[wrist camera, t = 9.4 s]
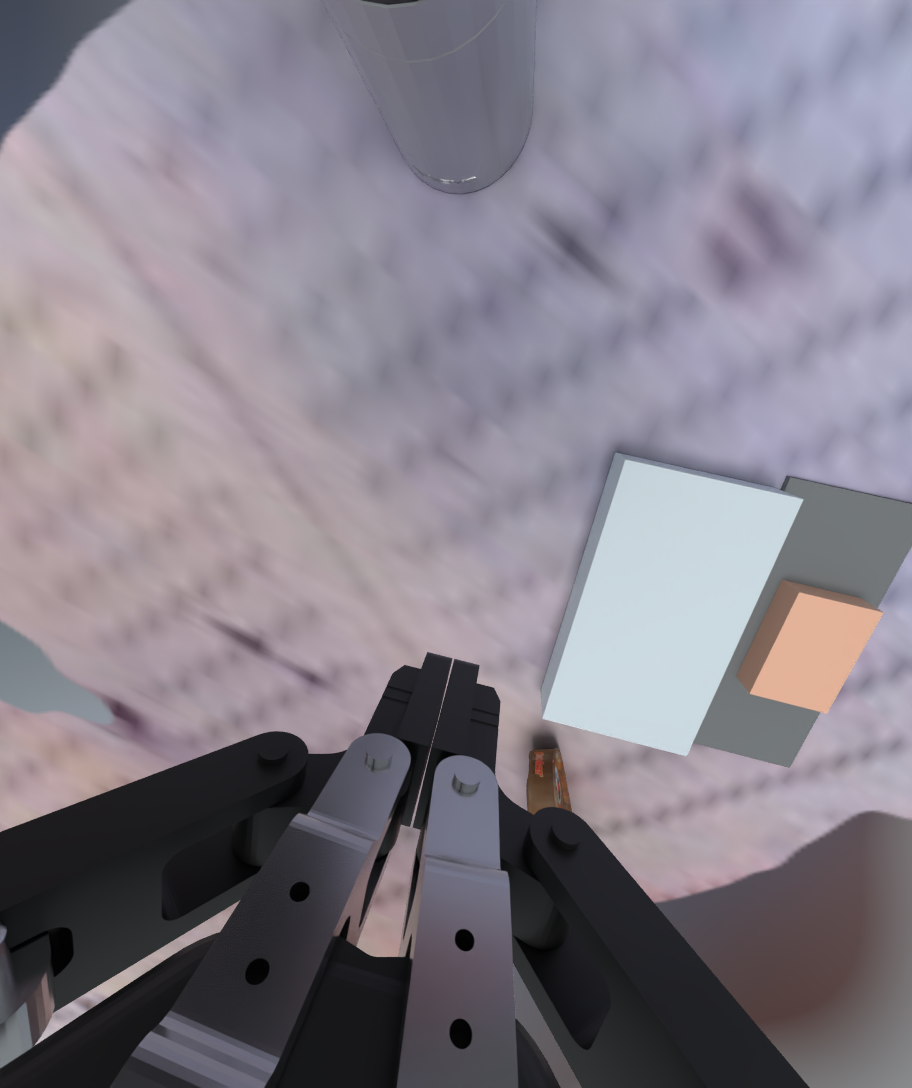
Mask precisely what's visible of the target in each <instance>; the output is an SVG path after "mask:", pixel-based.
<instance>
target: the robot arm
mask: <svg viewBox="0 0 912 1088" xmlns="http://www.w3.org/2000/svg"><path fill="white" fill-rule="evenodd" d="M322 2H323V4H324V6H325V8H326V10H327V11H328V13H329V15H330V17H331V19H332V21H333V23H334V25H335V27H336V29H337V30H338V32H339V34H340V36H341V38H342V40H343V42H344V44H345V46H346V48H347V50H348V52H349V54H350V55H351V57H352V59H353V61H354V63H355V65H356V67H357V69H358V71H359V73H360V75H361V77H362V79H363V80H364V82H365V84H366V86H367V88H368V90H369V92H370V94H371V96H372V98H373V100H374V102H375V104H376V105H377V107H378V109H379V111H380V113H381V115H382V117H383V119H384V121H385V123H386V125H387V127H388V129H389V131H390V133H391V135H392V136H393V138H394V140H395V142H396V144H397V146H398V148H399V150H400V152H401V154H402V155H403V157H404V159H405V160H406V162H407V163H408V165H409V167H410V168H411V170H412V171H413V172H414V173H415V174H416V175H417V176H418V177H419V178H420V179H421V180H422V181H424V182H425V183H427V184H428V185H430V186H432V187H433V188H435V189H438V190H441V191H444V192H447V193H458V194H463V193H469V192H474V191H478V190H480V189H482V188H484V187H487V186H489V185H491V184H492V183H493V182H495V181H496V180H497V179H499V178H500V177H501V176H503V174H504V173H505V172H506V171H507V170H508V169H509V168H510V167H511V166H512V164H513V163H514V162H515V160H516V158H517V157H518V155H519V153H520V152H521V150H522V148H523V146H524V143H525V141H526V138H527V135H528V133H529V129H530V124H531V119H532V114H533V91H534V69H535V37H536V3H537V0H322ZM451 662H452V658H449V657H445V656H441V655H437V654H433V653H429V652H427V655H426V657H425V660H424V663H423V665H422V668H421V669H418V668H415V667H411V666H407V665H404V666H403V667H401V668H400V669H398V670H397V671H395V672H394V673H393V674H392V676H391V678H390V680H389V682H388V684H387V687H386V689H385V691H384V693H383V695H382V698H381V700H380V702H379V704H378V706H377V708H376V710H375V712H374V715H373V717H372V719H371V721H370V723H369V725H368V727H367V730H366V732H365V734H364V736H361V737H359V738H357V739H356V740H355V741H353V742H352V743H351V745H350V746H349V748H348V749H347V750H345V751H342V752H339V753H333V754H308V749H307V746H306V744H305V743H304V742H303V741H302V740H301V739H300V738H299V737H297V736H295V735H293V734H290V733H287V732H278V731H275V732H267V733H263V734H260V735H257V736H254V737H251V738H249V739H246V740H243V741H241V742H238V743H236V744H233V745H230V746H228V747H225V748H222V749H220V750H217V751H214V752H212V753H209V754H206V755H204V756H201V757H198V758H196V759H193V760H190V761H188V762H185V763H182V764H180V765H177V766H174V767H172V768H169V769H166V770H164V771H161V772H158V773H156V774H153V775H151V776H148V777H145V778H143V779H140V780H137V781H135V782H132V783H129V784H127V785H124V786H121V787H119V788H116V789H113V790H111V791H108V792H105V793H103V794H100V795H97V796H95V797H92V798H89V799H87V800H84V801H81V802H79V803H76V804H73V805H71V806H68V807H66V808H63V809H60V810H58V811H55V812H52V813H50V814H47V815H44V816H42V817H39V818H36V819H34V820H31V821H28V822H26V823H23V824H20V825H18V826H15V827H12V828H10V829H7V830H4V831H2V832H0V1088H560V1086H559V1084H558V1082H557V1080H556V1078H555V1076H554V1074H553V1072H552V1070H551V1068H550V1066H549V1064H548V1062H547V1060H546V1059H545V1057H544V1055H543V1054H542V1052H541V1051H540V1049H539V1048H538V1046H537V1044H536V1043H535V1041H534V1040H533V1039H532V1037H531V1036H530V1035H529V1033H528V1032H527V1031H526V1030H525V1028H524V1027H523V1026H522V1025H521V1024H520V1023H519V1021H518V1020H517V1019H516V1018H515V999H514V977H513V963H514V965H515V967H516V969H517V971H518V972H519V974H520V976H521V978H522V980H523V982H524V983H525V985H526V987H527V989H528V990H529V992H530V994H531V996H532V998H533V1000H534V1001H535V1003H536V1005H537V1007H538V1009H539V1011H540V1012H541V1014H542V1016H543V1018H544V1020H545V1021H546V1023H547V1025H548V1027H549V1029H550V1031H551V1032H552V1034H553V1036H554V1038H555V1040H556V1041H557V1043H558V1045H559V1047H560V1049H561V1050H562V1052H563V1054H564V1056H565V1058H566V1059H567V1061H568V1063H569V1065H570V1067H571V1069H572V1070H573V1072H574V1074H575V1076H576V1078H577V1079H578V1081H579V1083H580V1085H581V1087H582V1088H809V1086H808V1085H807V1084H806V1083H805V1082H804V1081H803V1079H802V1078H801V1077H800V1076H799V1075H798V1073H797V1072H796V1071H795V1070H794V1069H793V1067H792V1066H791V1065H790V1064H789V1063H788V1061H787V1060H786V1059H785V1058H784V1057H783V1056H782V1054H781V1053H780V1052H779V1051H778V1050H777V1048H776V1047H775V1046H774V1045H773V1044H772V1043H771V1041H770V1040H769V1039H768V1038H767V1037H766V1035H765V1034H764V1033H763V1032H762V1031H761V1030H760V1028H759V1027H758V1026H757V1025H756V1024H755V1022H754V1021H753V1020H752V1019H751V1018H750V1016H749V1015H748V1014H747V1013H746V1012H745V1011H744V1009H743V1008H742V1007H741V1006H740V1005H739V1003H738V1002H737V1001H736V1000H735V999H734V998H733V996H732V995H731V994H730V993H729V992H728V990H727V989H726V988H725V987H724V986H723V984H722V983H721V982H720V981H719V980H718V978H717V977H716V976H715V975H714V974H713V973H712V972H711V970H710V969H709V968H708V967H707V965H706V964H705V963H704V962H703V961H702V960H701V958H700V957H699V956H698V955H697V954H696V952H695V951H694V950H693V949H692V948H691V946H690V945H689V944H688V943H687V942H686V941H685V939H684V938H683V937H682V936H681V935H680V933H679V932H678V931H677V930H676V929H675V928H674V926H673V925H672V924H671V923H670V922H669V920H668V919H667V918H666V917H665V916H664V914H663V913H662V912H661V911H660V910H659V908H658V907H657V906H656V905H655V904H654V903H653V901H652V900H651V899H650V898H649V897H648V895H647V894H646V893H645V892H644V891H643V889H642V888H641V887H640V886H639V885H638V884H637V882H636V881H635V880H634V879H633V878H632V876H631V875H630V874H629V873H628V872H627V870H626V869H625V868H624V867H623V866H622V865H621V863H620V862H619V861H618V860H617V859H616V857H615V856H614V855H613V854H612V853H611V852H610V850H609V849H608V848H607V847H606V846H605V844H604V843H603V842H602V841H601V840H600V838H599V837H598V836H597V835H596V834H595V833H594V831H593V830H592V829H591V828H590V827H589V825H588V824H587V823H586V822H585V821H584V820H582V819H581V818H580V817H579V816H577V815H576V814H574V813H572V812H570V811H568V810H565V809H562V808H558V807H546V808H543V809H540V810H538V811H537V812H536V813H535V814H534V815H533V814H532V813H530V812H528V811H526V810H525V809H523V808H521V807H520V806H518V805H516V804H515V803H514V802H512V801H511V800H510V799H509V798H508V797H507V796H506V795H505V794H504V793H503V792H502V790H501V789H500V787H499V785H498V782H497V779H496V776H495V764H496V751H497V738H498V726H499V713H500V700H499V697H498V695H497V693H496V691H495V689H494V688H492V687H489V686H485V685H481V684H477V677H478V671H479V665H476V664H473V663H469V662H465V661H461V660H457V659H454V663H453V667H452V670H451V674H450V678H449V682H448V686H447V690H446V693H445V697H444V692H445V688H446V684H447V679H448V675H449V671H450V667H451ZM443 697H444V701H443ZM442 701H443V705H442ZM441 705H442V709H441ZM440 709H441V713H440ZM439 713H440V716H439ZM438 718H439V720H438ZM437 722H438V724H437ZM436 725H437V728H436ZM435 729H436V732H435ZM434 733H435V736H434ZM433 737H434V739H433ZM432 741H433V743H432ZM431 744H432V747H431ZM430 748H431V751H430ZM429 752H430V756H429ZM428 756H429V760H428ZM427 760H428V764H427ZM426 764H427V768H426V773H425V777H424V781H423V786H422V790H421V794H420V798H419V803H418V807H417V811H416V816H415V820H414V824H413V828H417V829H420V830H421V831H420V836H419V840H418V844H417V849H416V853H415V857H414V861H413V865H412V872H411V878H410V885H409V891H408V897H407V904H406V910H405V917H404V923H403V930H402V936H401V943H400V949H399V955H398V957H373V956H370V955H368V954H366V953H365V952H363V951H362V950H360V949H359V948H357V947H356V946H357V943H358V940H359V938H360V935H361V932H362V930H363V927H364V924H365V922H366V919H367V916H368V914H369V911H370V908H371V906H372V903H373V900H374V898H375V895H376V892H377V890H378V887H379V884H380V882H381V879H382V876H383V874H384V871H385V868H386V866H387V863H388V861H389V858H390V854H391V849H392V848H393V846H394V845H395V843H396V840H397V837H398V833H399V830H400V826H401V824H402V825H405V826H409V827H410V824H411V821H412V817H413V813H414V809H415V805H416V802H417V798H418V794H419V790H420V786H421V783H422V779H423V775H424V771H425V767H426ZM239 900H240V902H239V904H238V905H237V907H236V908H235V910H234V911H233V913H232V914H231V916H230V918H229V919H228V921H227V922H226V924H225V925H224V927H223V929H222V930H221V932H220V933H216V934H213V935H211V936H208V937H206V938H203V939H201V940H199V941H197V942H195V943H193V944H191V945H189V946H187V947H185V948H183V949H182V950H180V951H178V952H177V953H175V954H174V955H172V956H171V957H169V958H167V959H166V960H164V961H163V962H161V963H160V964H158V965H157V966H155V967H154V968H152V969H151V970H149V971H148V972H146V973H145V974H143V975H142V976H140V977H139V978H137V979H136V980H134V981H133V982H131V983H129V984H128V985H126V986H125V987H123V988H122V989H120V990H119V991H117V992H116V993H114V994H113V995H111V996H110V997H108V998H107V999H105V1000H104V1001H102V1002H101V1003H99V1004H98V1005H96V1006H94V1007H93V1008H91V1009H90V1010H88V1011H87V1012H85V1013H84V1014H82V1015H81V1016H79V1017H78V1018H76V1019H75V1020H73V1021H72V1022H70V1023H69V1024H67V1025H66V1026H64V1027H63V1028H61V1029H60V1030H58V1031H56V1032H55V1033H53V1034H52V1035H50V1036H49V1037H47V1038H46V1039H44V1040H43V1041H41V1042H40V1043H38V1044H37V1045H35V1044H36V1042H37V1041H38V1040H39V1038H40V1037H41V1036H42V1034H43V1032H44V1031H45V1029H46V1027H47V1025H48V1023H49V1021H50V1019H51V1017H52V1014H53V1013H54V1012H55V1011H57V1010H59V1009H60V1008H62V1007H64V1006H65V1005H67V1004H69V1003H70V1002H72V1001H74V1000H75V999H77V998H79V997H80V996H82V995H84V994H85V993H87V992H88V991H90V990H92V989H93V988H95V987H97V986H98V985H100V984H102V983H103V982H105V981H107V980H108V979H110V978H112V977H113V976H115V975H117V974H118V973H120V972H122V971H123V970H125V969H127V968H128V967H130V966H132V965H133V964H135V963H137V962H138V961H140V960H142V959H143V958H145V957H147V956H148V955H150V954H152V953H153V952H155V951H157V950H158V949H160V948H161V947H163V946H165V945H166V944H168V943H170V942H171V941H173V940H175V939H176V938H178V937H180V936H181V935H183V934H185V933H186V932H188V931H190V930H191V929H193V928H195V927H196V926H198V925H200V924H201V923H203V922H205V921H206V920H208V919H210V918H211V917H213V916H215V915H216V914H218V913H220V912H221V911H223V910H225V909H226V908H228V907H230V906H231V905H233V904H234V903H236V902H238V901H239ZM34 1045H35V1046H34ZM33 1046H34V1047H33Z"/></svg>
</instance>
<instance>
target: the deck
mask: <svg viewBox="0 0 912 1088" xmlns="http://www.w3.org/2000/svg"><path fill="white" fill-rule="evenodd" d="M803 500H804V499H802V498H799V497H797V496H794V495H792V494H789V493H787V492H784V491H782V490H779V489H777V488H774V487H769V486H765V485H760V484H756V483H751V482H747V481H742V480H738V479H733V478H729V477H724V476H720V475H715V474H711V473H706V472H702V471H697V470H693V469H688V468H684V467H679V466H675V465H670V464H666V463H661V462H657V461H652V460H648V459H643V458H639V457H634V456H630V455H625V454H621V453H616V452H615V454H614V457H613V461H612V464H611V467H610V470H609V473H608V477H607V480H606V483H605V486H604V490H603V493H602V496H601V499H600V502H599V506H598V509H597V512H596V515H595V518H594V522H593V525H592V528H591V531H590V534H589V538H588V541H587V544H586V547H585V550H584V554H583V557H582V560H581V563H580V566H579V570H578V573H577V576H576V579H575V582H574V586H573V589H572V592H571V595H570V599H569V602H568V605H567V608H566V611H565V615H564V618H563V621H562V624H561V627H560V631H559V634H558V637H557V640H556V643H555V647H554V650H553V653H552V656H551V659H550V663H549V666H548V669H547V672H546V675H545V679H544V682H543V685H542V688H541V703H542V719H545V720H549V721H553V722H557V723H561V724H565V725H568V726H572V727H576V728H580V729H584V730H588V731H591V732H595V733H599V734H603V735H607V736H611V737H614V738H618V739H622V740H626V741H630V742H634V743H637V744H641V745H645V746H649V747H653V748H657V749H660V750H664V751H668V752H672V753H676V754H680V755H683V756H687V754H688V752H689V750H690V748H691V746H692V743H693V741H694V739H695V737H696V735H697V732H698V730H699V728H700V726H701V724H702V721H703V719H704V717H705V715H706V713H707V710H708V708H709V706H710V704H711V702H712V699H713V697H714V695H715V693H716V691H717V688H718V686H719V684H720V682H721V680H722V677H723V675H724V673H725V671H726V669H727V666H728V664H729V662H730V660H731V658H732V656H733V653H734V651H735V649H736V647H737V645H738V642H739V640H740V638H741V636H742V634H743V631H744V629H745V627H746V625H747V623H748V620H749V618H750V616H751V614H752V612H753V609H754V607H755V605H756V603H757V601H758V598H759V596H760V594H761V592H762V590H763V587H764V585H765V583H766V581H767V579H768V576H769V574H770V572H771V570H772V568H773V566H774V563H775V561H776V559H777V557H778V555H779V552H780V550H781V548H782V546H783V544H784V541H785V539H786V537H787V535H788V533H789V530H790V528H791V526H792V524H793V522H794V519H795V517H796V515H797V513H798V511H799V508H800V506H801V504H802V502H803Z"/></svg>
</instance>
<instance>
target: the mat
mask: <svg viewBox="0 0 912 1088" xmlns="http://www.w3.org/2000/svg"><path fill="white" fill-rule="evenodd" d="M781 490H782V491H784V492H787V493H789V494H792V495H794V496H797V497H799V498H802V499H804V500H803V502H802V504H801V506H800V508H799V511H798V513H797V515H796V517H795V519H794V522H793V524H792V526H791V528H790V530H789V533H788V535H787V537H786V539H785V541H784V544H783V546H782V548H781V550H780V552H779V555H778V557H777V559H776V561H775V563H774V566H773V568H772V570H771V572H770V574H769V576H768V579H767V581H766V583H765V585H764V587H763V590H762V592H761V594H760V596H759V598H758V601H757V603H756V605H755V607H754V609H753V612H752V614H751V616H750V618H749V620H748V623H747V625H746V627H745V629H744V631H743V634H742V636H741V638H740V640H739V642H738V645H737V647H736V649H735V651H734V653H733V656H732V658H731V660H730V662H729V664H728V666H727V669H726V671H725V673H724V675H723V677H722V680H721V682H720V684H719V686H718V688H717V691H716V693H715V695H714V697H713V699H712V702H711V704H710V706H709V708H708V710H707V713H706V715H705V717H704V719H703V721H702V724H701V726H700V728H699V730H698V732H697V735H696V737H695V739H694V741H693V743H696V744H700V745H704V746H707V747H711V748H715V749H719V750H723V751H727V752H731V753H734V754H738V755H742V756H746V757H750V758H754V759H758V760H762V761H765V762H769V763H773V764H777V765H781V766H785V767H789V768H790V766H791V764H792V763H793V761H794V759H795V757H796V755H797V754H798V752H799V750H800V748H801V746H802V744H803V743H804V741H805V739H806V737H807V735H808V734H809V732H810V730H811V728H812V726H813V724H814V723H815V721H816V719H817V717H818V715H819V714H820V712H819V711H815V710H811V709H807V708H803V707H799V706H795V705H791V704H787V703H784V702H780V701H776V700H772V699H768V698H764V697H760V696H756V695H752V694H749V692H748V691H747V690H746V688H745V687H744V686H743V684H742V683H741V682H740V680H739V679H738V678H737V674H738V672H739V670H740V667H741V665H742V663H743V661H744V659H745V657H746V655H747V653H748V651H749V648H750V646H751V644H752V642H753V640H754V638H755V636H756V634H757V631H758V629H759V627H760V625H761V623H762V621H763V619H764V617H765V615H766V612H767V610H768V608H769V606H770V604H771V602H772V600H773V598H774V596H775V593H776V591H777V589H778V587H779V585H780V583H781V581H782V580H786V581H790V582H795V583H799V584H803V585H807V586H811V587H816V588H820V589H824V590H828V591H832V592H836V593H841V594H845V595H849V596H853V597H857V598H861V599H863V600H864V601H866V602H868V603H869V604H871V605H872V606H874V607H876V608H878V606H879V604H880V603H881V601H882V599H883V597H884V595H885V594H886V592H887V590H888V588H889V586H890V584H891V583H892V581H893V579H894V577H895V575H896V574H897V572H898V570H899V568H900V566H901V564H902V563H903V561H904V559H905V557H906V555H907V554H908V552H909V550H910V548H911V546H912V504H911V503H906V502H902V501H897V500H893V499H888V498H883V497H879V496H874V495H870V494H865V493H861V492H856V491H852V490H847V489H843V488H838V487H834V486H829V485H825V484H820V483H815V482H811V481H806V480H802V479H797V478H793V477H788V476H787V477H786V480H785V482H784V484H783V487H782V489H781Z"/></svg>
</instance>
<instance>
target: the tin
mask: <svg viewBox="0 0 912 1088" xmlns="http://www.w3.org/2000/svg"><path fill="white" fill-rule="evenodd" d="M529 759H530V761H529V775H528V779H527V808H528V812H530V813H532V814H533V815H534V814H535V813H536V812H537V811H538V810H540V809H543V808H546V807H558V808H562V809H565V810H568V811H570V812H572V810H571V805H570V800H569V794H568V789H567V783H566V778H565V773H564V767H563V762H562V758H561V754H560V751H559V749H558V748H554V749H539V750H533V751H531V752H530V753H529Z"/></svg>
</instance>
